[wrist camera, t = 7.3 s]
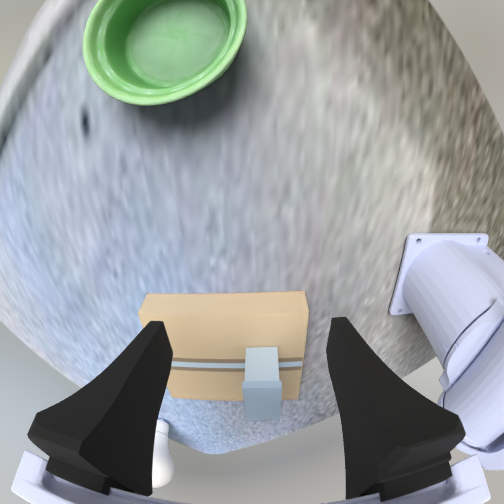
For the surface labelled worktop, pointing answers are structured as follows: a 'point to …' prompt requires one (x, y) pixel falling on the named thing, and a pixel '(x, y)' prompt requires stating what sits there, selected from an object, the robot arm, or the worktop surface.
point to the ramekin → (161, 46)
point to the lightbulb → (161, 456)
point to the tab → (262, 384)
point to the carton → (229, 339)
